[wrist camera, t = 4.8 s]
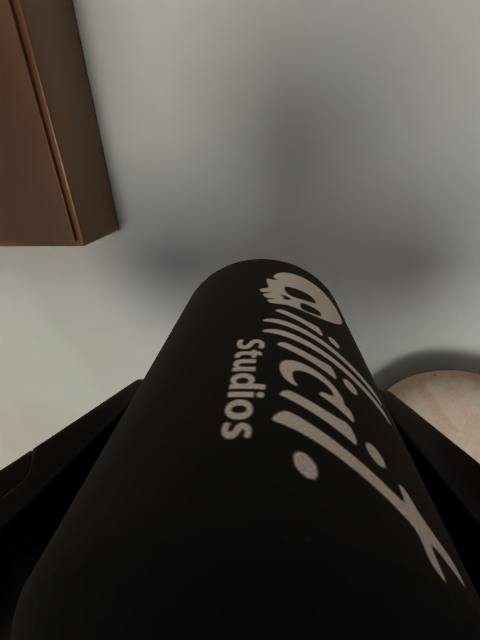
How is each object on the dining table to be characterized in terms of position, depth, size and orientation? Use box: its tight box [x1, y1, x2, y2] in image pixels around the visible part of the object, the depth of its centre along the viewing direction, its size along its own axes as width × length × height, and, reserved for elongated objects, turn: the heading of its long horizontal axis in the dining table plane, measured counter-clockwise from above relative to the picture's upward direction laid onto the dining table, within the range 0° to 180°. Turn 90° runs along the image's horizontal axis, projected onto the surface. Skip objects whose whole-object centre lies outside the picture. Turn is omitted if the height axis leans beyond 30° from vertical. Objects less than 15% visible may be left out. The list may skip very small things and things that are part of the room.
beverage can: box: [10, 259, 480, 640], centre depth 8 cm, size 7×7×12 cm
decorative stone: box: [388, 370, 480, 463], centre depth 20 cm, size 13×9×5 cm
